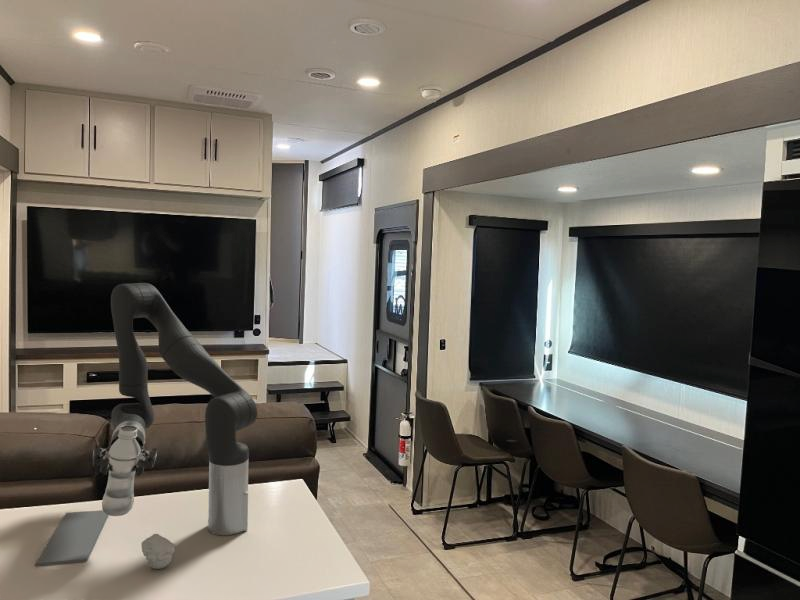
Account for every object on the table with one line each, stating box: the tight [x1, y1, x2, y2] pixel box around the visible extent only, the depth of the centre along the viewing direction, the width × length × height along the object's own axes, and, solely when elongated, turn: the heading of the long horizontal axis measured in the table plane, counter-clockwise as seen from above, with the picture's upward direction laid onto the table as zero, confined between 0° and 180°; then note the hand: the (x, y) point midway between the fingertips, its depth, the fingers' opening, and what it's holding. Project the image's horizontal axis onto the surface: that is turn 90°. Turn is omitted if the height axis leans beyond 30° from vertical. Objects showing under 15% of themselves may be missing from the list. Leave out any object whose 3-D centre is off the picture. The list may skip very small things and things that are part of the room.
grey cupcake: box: [141, 533, 176, 570], centre depth 129 cm, size 6×7×7 cm
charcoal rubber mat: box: [34, 509, 110, 567], centre depth 140 cm, size 10×24×1 cm, turn 15°
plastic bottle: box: [101, 425, 141, 517], centre depth 134 cm, size 6×7×20 cm
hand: (122, 471), depth 132 cm, fingers closed on plastic bottle, 6 cm apart
